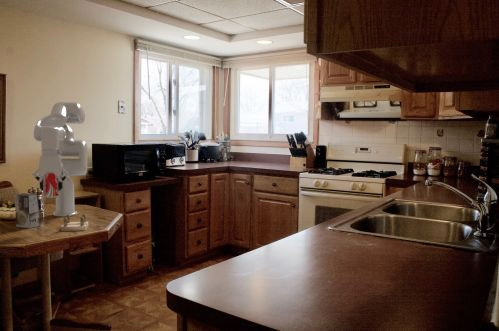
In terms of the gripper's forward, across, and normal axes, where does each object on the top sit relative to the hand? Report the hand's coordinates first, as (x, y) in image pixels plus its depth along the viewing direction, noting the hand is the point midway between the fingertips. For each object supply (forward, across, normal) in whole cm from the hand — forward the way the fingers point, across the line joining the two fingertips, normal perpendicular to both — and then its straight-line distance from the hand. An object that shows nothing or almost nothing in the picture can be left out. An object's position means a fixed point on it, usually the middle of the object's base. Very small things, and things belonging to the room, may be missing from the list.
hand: (51, 189), depth 199 cm
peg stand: (+19, -10, -2) cm, 22 cm away
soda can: (+4, 0, 0) cm, 4 cm away
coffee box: (+20, +13, -9) cm, 26 cm away
